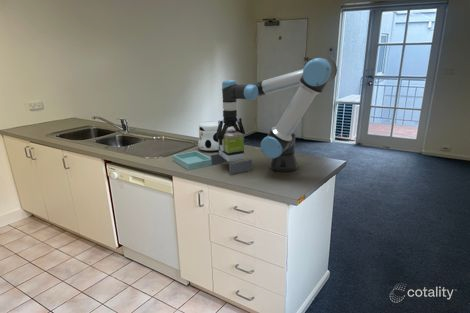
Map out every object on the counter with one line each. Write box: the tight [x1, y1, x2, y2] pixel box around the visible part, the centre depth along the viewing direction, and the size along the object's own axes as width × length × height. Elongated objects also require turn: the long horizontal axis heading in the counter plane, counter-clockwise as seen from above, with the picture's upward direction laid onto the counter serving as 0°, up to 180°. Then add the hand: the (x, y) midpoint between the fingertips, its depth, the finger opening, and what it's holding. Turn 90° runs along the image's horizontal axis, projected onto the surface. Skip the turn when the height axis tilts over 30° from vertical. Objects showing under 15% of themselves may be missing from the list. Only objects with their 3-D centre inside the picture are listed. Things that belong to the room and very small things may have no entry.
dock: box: [210, 152, 253, 176], centre depth 184 cm, size 21×14×6 cm, turn 34°
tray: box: [172, 150, 213, 171], centre depth 192 cm, size 21×16×4 cm
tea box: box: [218, 128, 245, 163], centre depth 180 cm, size 15×10×15 cm
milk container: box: [197, 121, 219, 153], centre depth 217 cm, size 17×17×18 cm
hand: (231, 148), depth 181 cm, fingers closed on tea box, 11 cm apart
